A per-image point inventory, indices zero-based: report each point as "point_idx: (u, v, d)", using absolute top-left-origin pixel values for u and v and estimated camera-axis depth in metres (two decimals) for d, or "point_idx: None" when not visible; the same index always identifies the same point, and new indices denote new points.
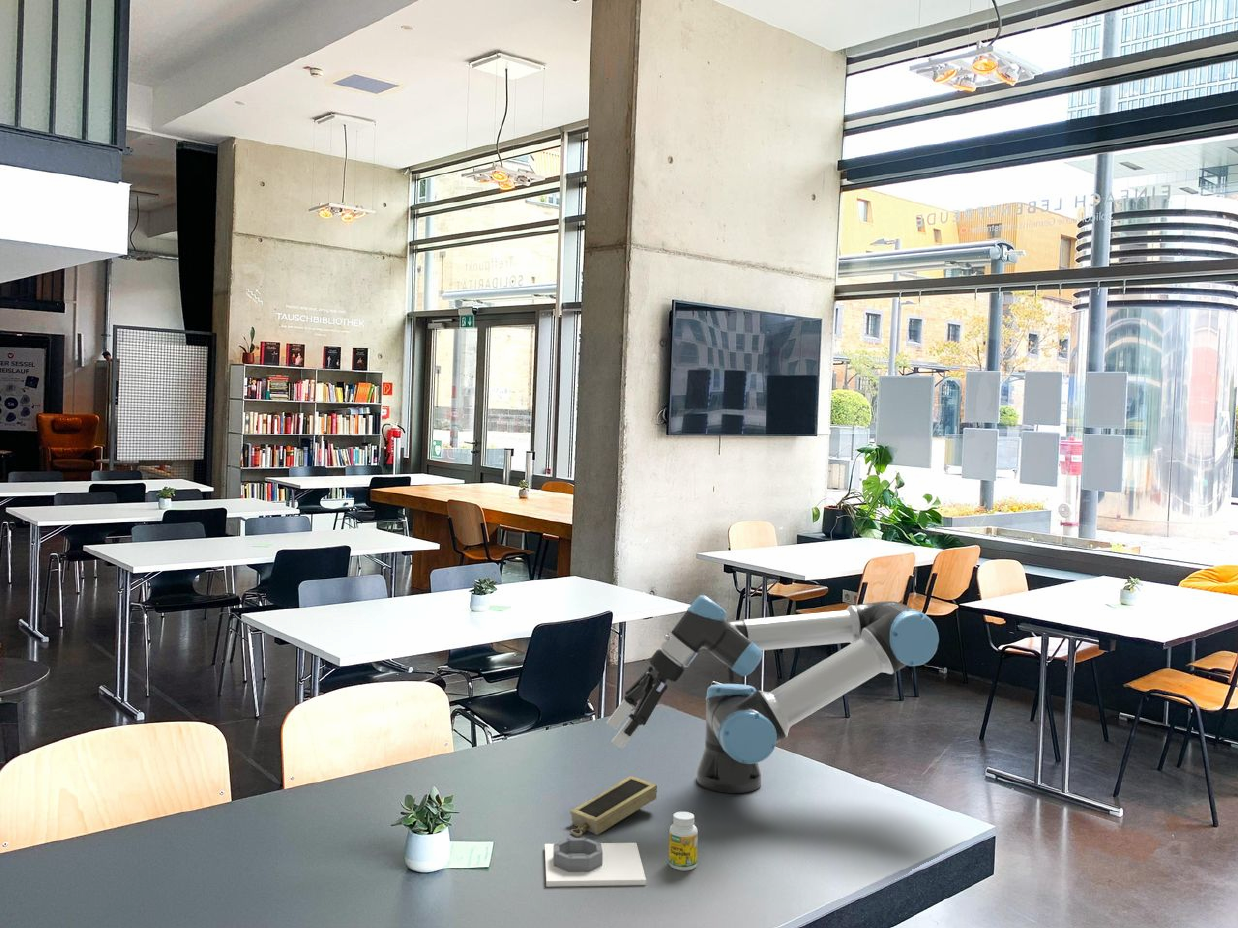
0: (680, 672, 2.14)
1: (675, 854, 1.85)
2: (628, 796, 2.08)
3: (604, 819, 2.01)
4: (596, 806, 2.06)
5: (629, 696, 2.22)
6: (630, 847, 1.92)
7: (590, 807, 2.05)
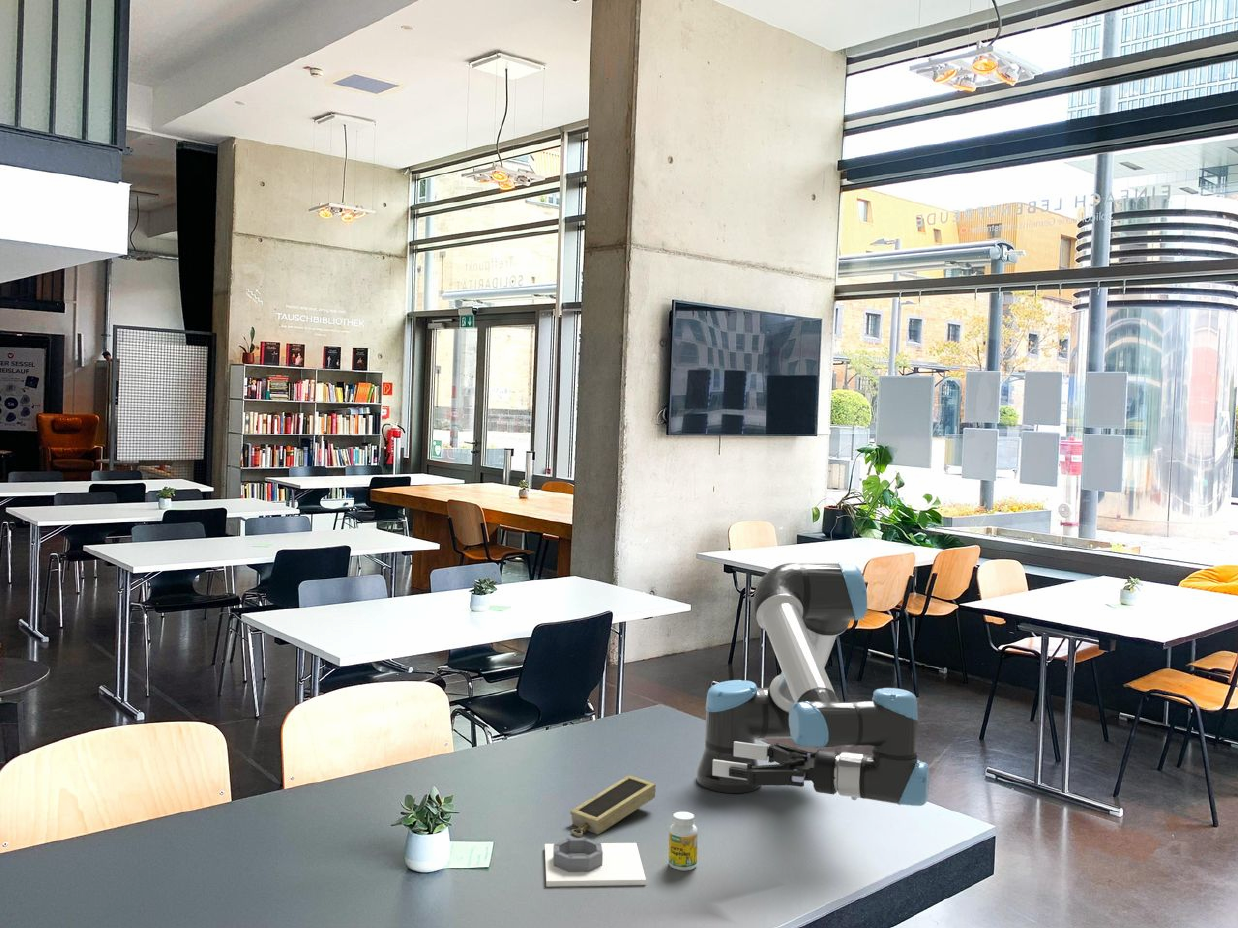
0: None
1: (675, 854, 1.85)
2: (627, 795, 2.09)
3: (605, 819, 2.01)
4: (595, 806, 2.06)
5: None
6: (630, 847, 1.92)
7: (590, 807, 2.06)
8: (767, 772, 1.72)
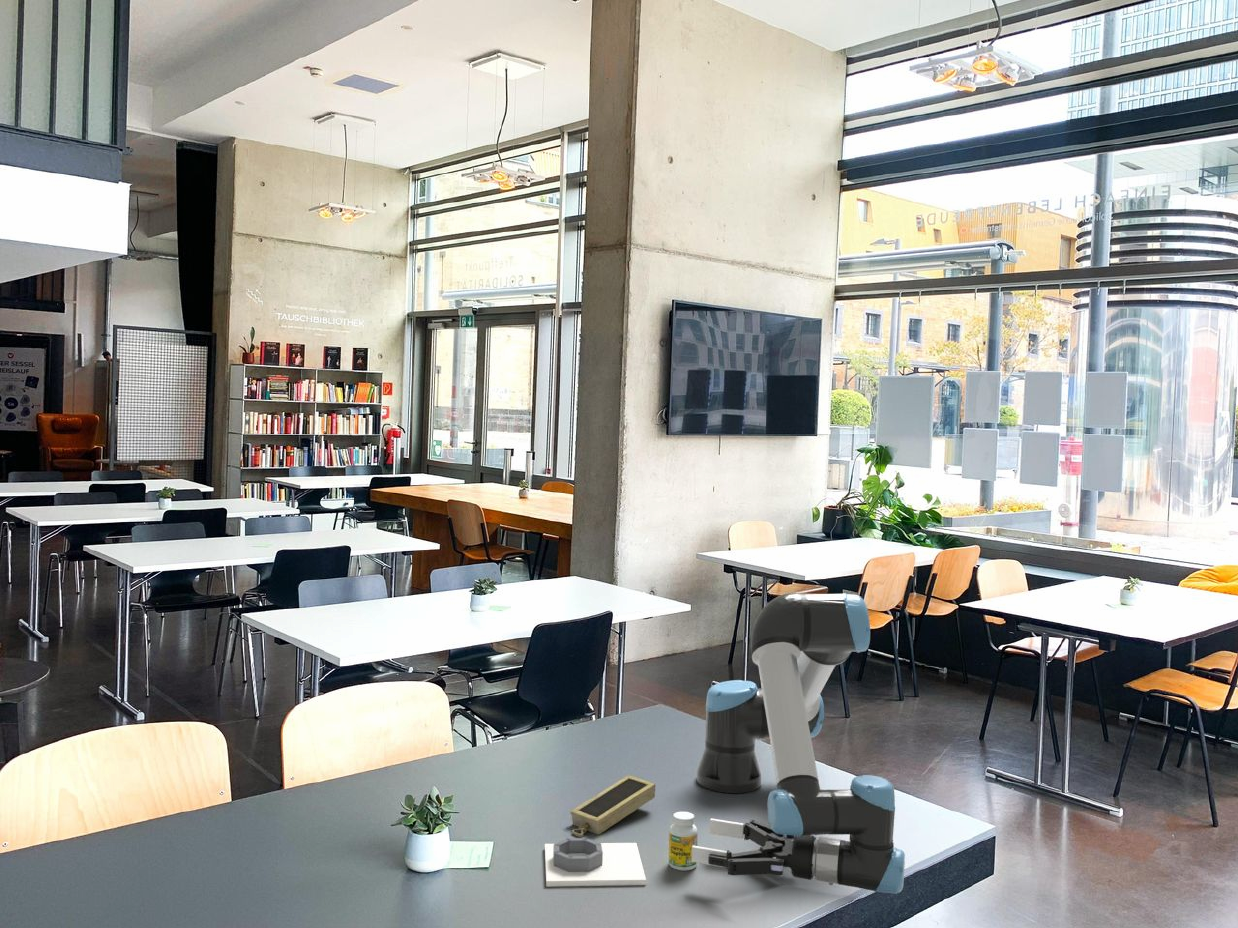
0: None
1: (675, 854, 1.85)
2: (627, 795, 2.09)
3: (605, 819, 2.01)
4: (596, 806, 2.06)
5: None
6: (630, 847, 1.92)
7: (590, 807, 2.05)
8: (747, 862, 1.73)
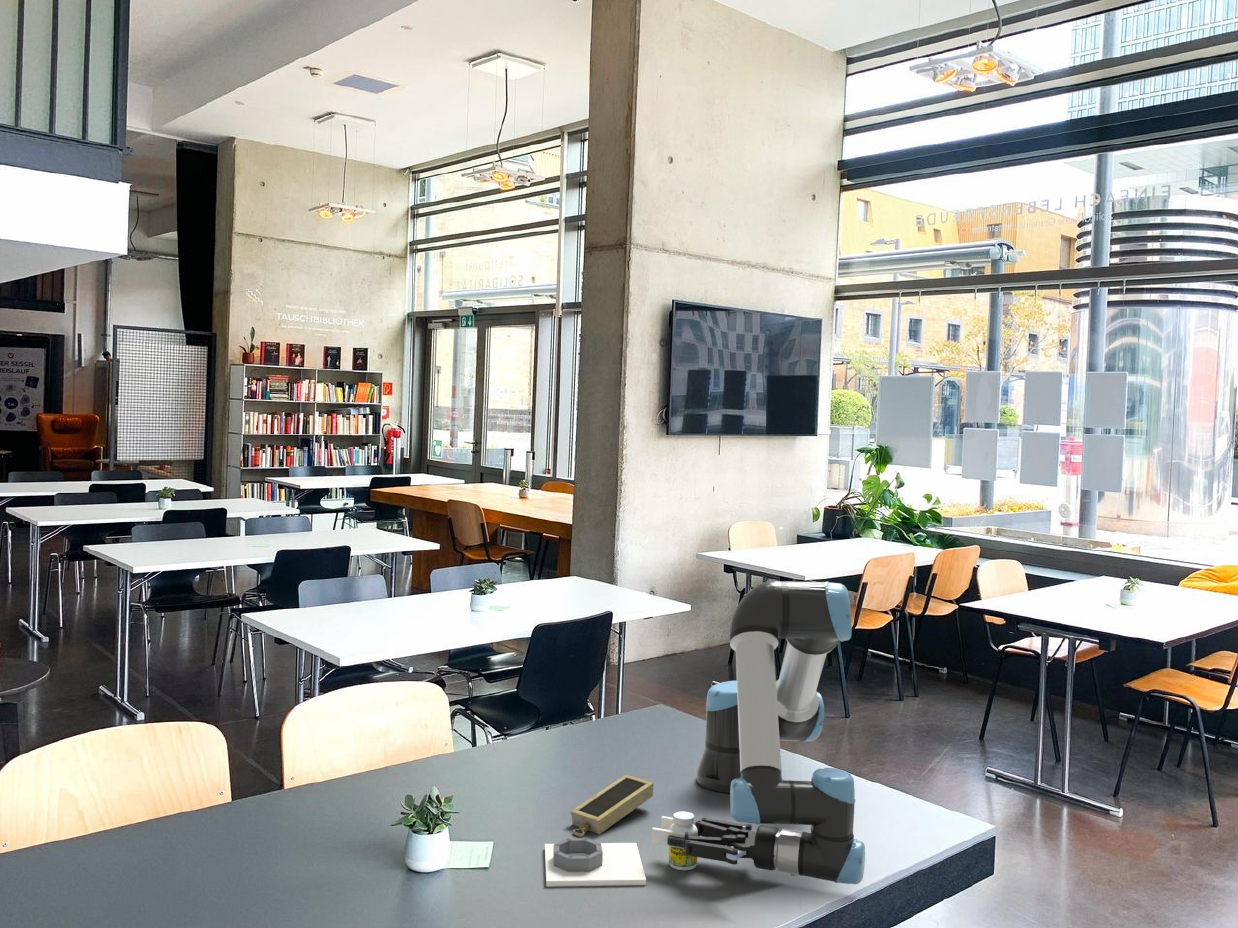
0: None
1: (675, 853, 1.85)
2: (626, 795, 2.09)
3: (606, 818, 2.02)
4: (595, 806, 2.06)
5: None
6: (630, 847, 1.92)
7: (590, 806, 2.06)
8: (702, 845, 1.79)
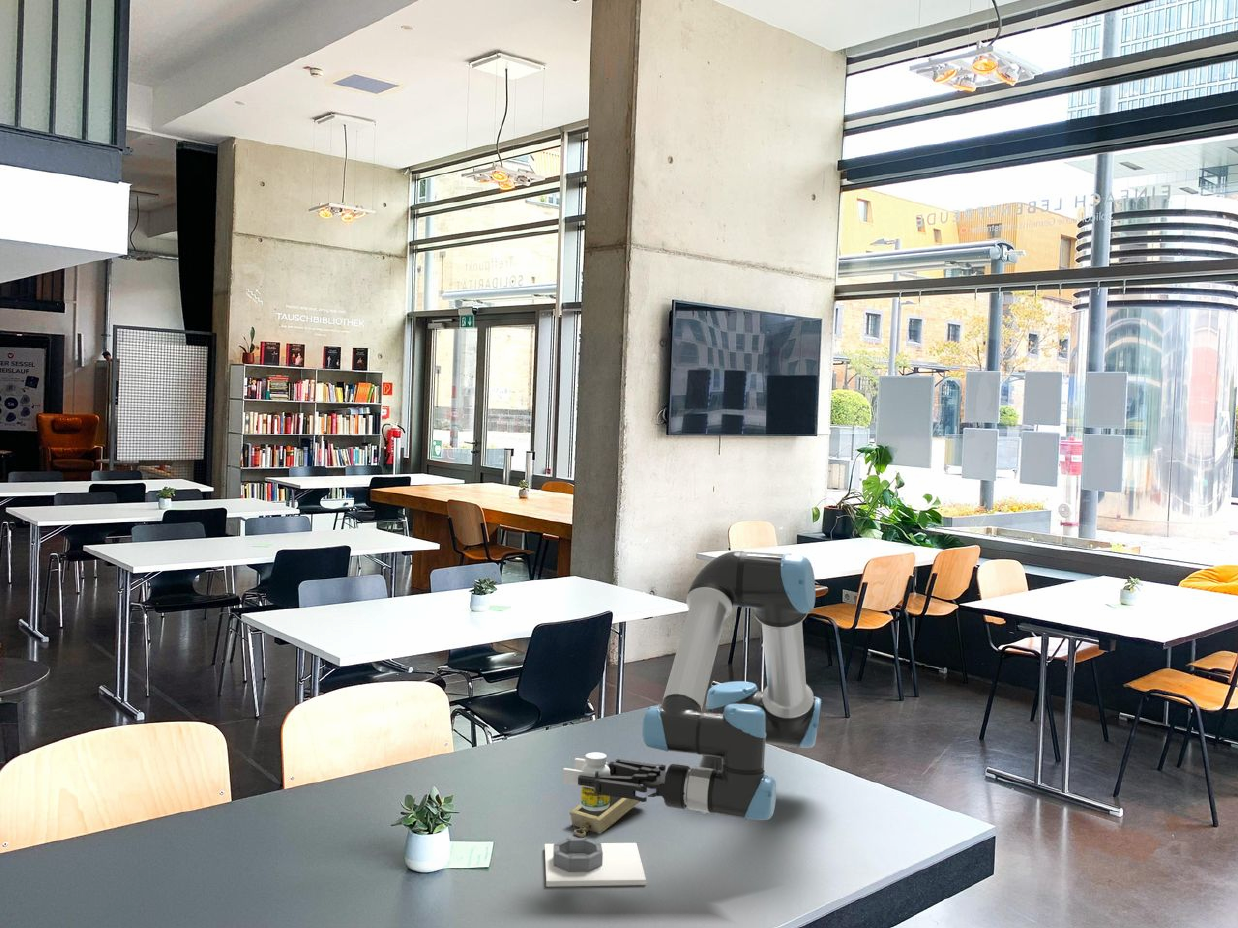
0: None
1: (586, 794, 1.82)
2: None
3: (606, 818, 2.02)
4: None
5: None
6: (630, 847, 1.92)
7: None
8: (612, 783, 1.76)
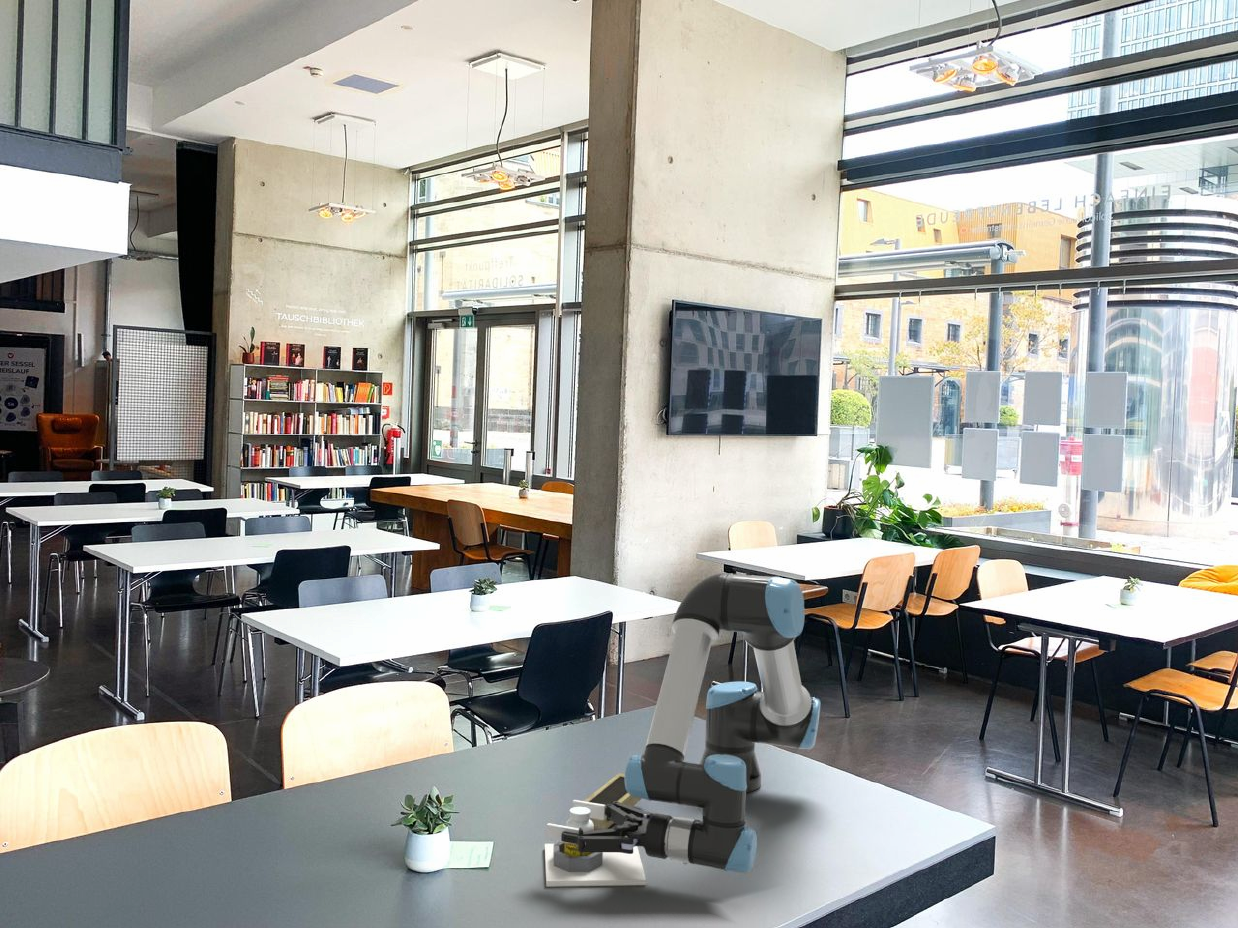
0: None
1: (569, 849, 1.83)
2: (623, 793, 2.10)
3: None
4: None
5: None
6: None
7: None
8: (597, 839, 1.74)
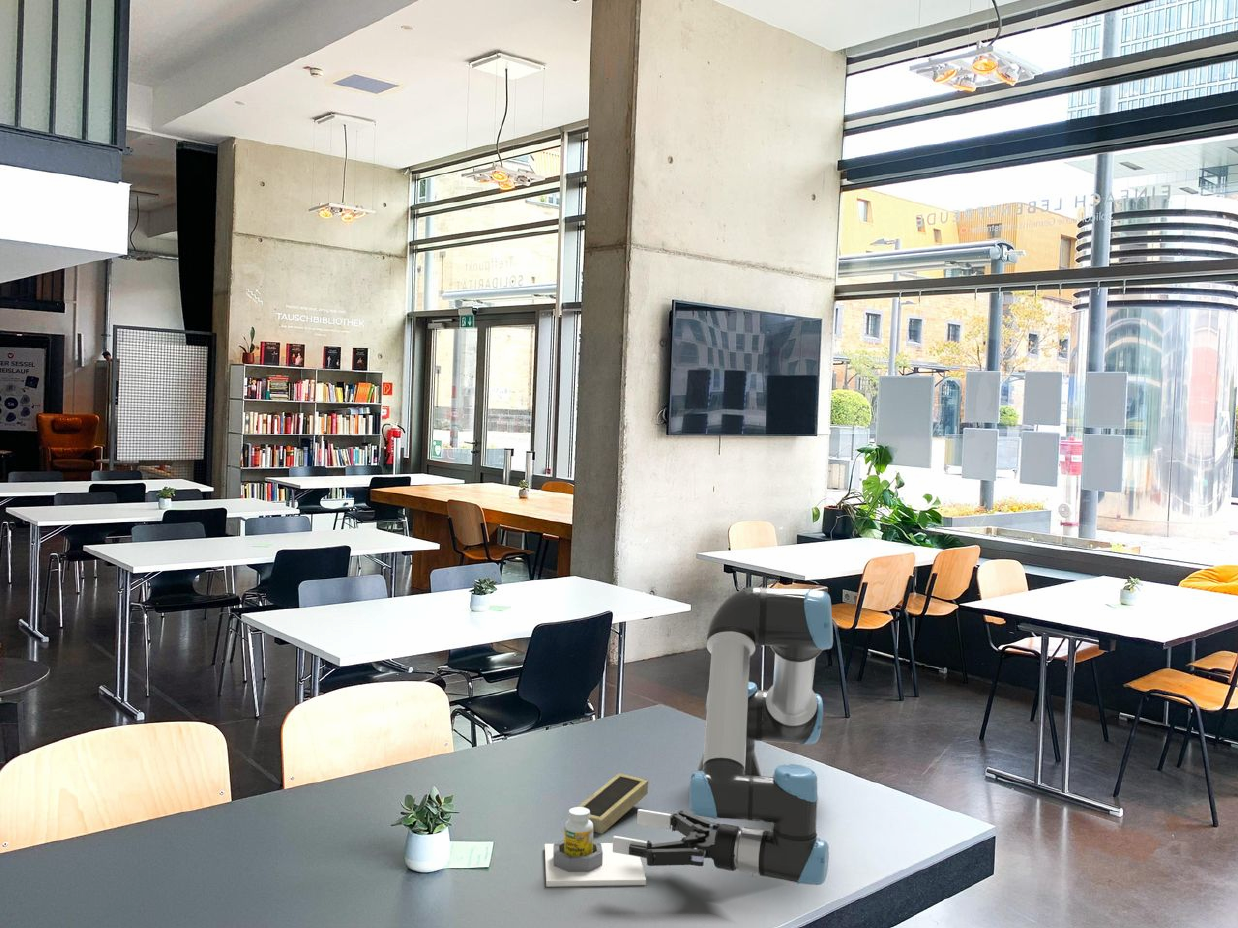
0: None
1: (569, 849, 1.83)
2: (624, 793, 2.10)
3: (607, 818, 2.02)
4: (595, 805, 2.06)
5: None
6: None
7: (590, 807, 2.06)
8: (666, 852, 1.70)
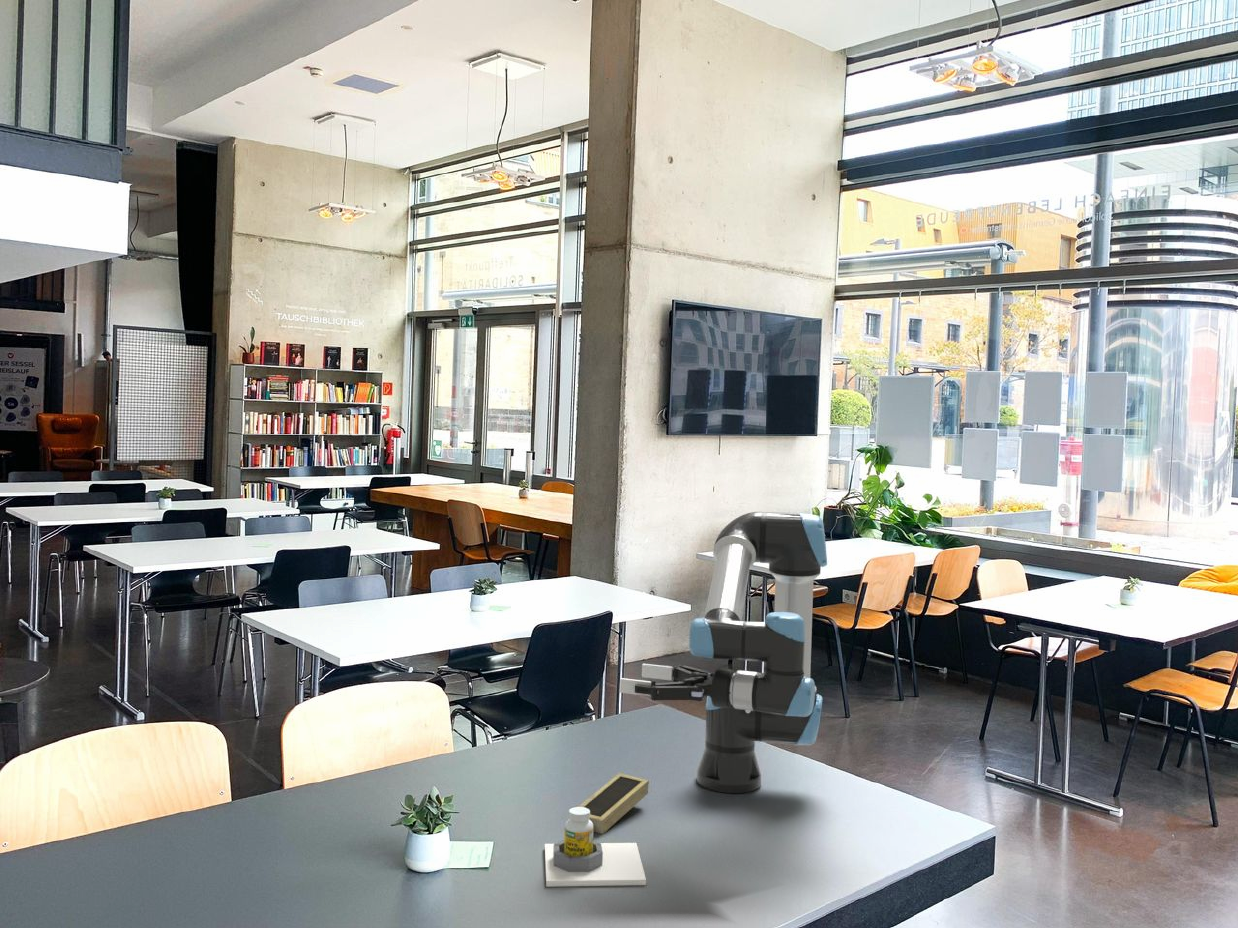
0: None
1: (569, 849, 1.83)
2: (624, 793, 2.10)
3: (608, 818, 2.02)
4: (595, 806, 2.06)
5: None
6: (630, 847, 1.92)
7: (590, 807, 2.06)
8: (669, 688, 1.89)
